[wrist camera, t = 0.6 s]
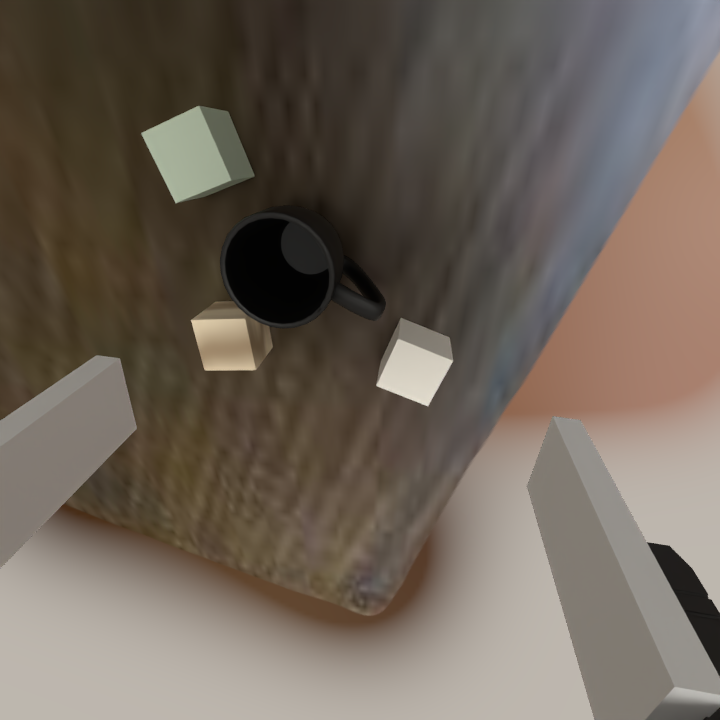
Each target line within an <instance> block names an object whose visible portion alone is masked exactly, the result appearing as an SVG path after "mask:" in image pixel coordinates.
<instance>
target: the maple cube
mask: <svg viewBox="0 0 720 720" xmlns="http://www.w3.org/2000/svg"><path fill="white" fill-rule="evenodd" d="M191 322H192V325H193V329H194V333H195V336H196V340H197V344H198V347H199V351H200V355H201V358H202V362H203V366H204V369H205V370H256V369H257V368H258V367H259V365H260V364H261V363H262V361H263V360H264V359H265V357H266V356H267V355H268V353H269V352H270V351H271V349H272V348H273V345H272V339H271V334H270V328H269V326H267V325H264V324H262V323H259V322H257V321H255V320H254V319H252V318H250V317H249V316H247V315H246V314H245V313H244V312H243V311H242V310H241V309H239V308H238V307H237V305H236V304H235V303H234V301H220V302H214V303H213V304H212V305H210V306H209V307H208V308H206V309H205V310H204V311H202V312H201V313H200V314H198V315H197V316H196V317H194V318H193V319H192V320H191Z"/></svg>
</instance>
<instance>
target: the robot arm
mask: <svg viewBox="0 0 720 720" xmlns="http://www.w3.org/2000/svg"><path fill="white" fill-rule="evenodd" d="M136 429H137V427H136V423H135V419H134V415H133V411H132V407H131V403H130V399H129V395H128V390H127V386H126V382H125V378H124V374H123V370H122V366H121V362H120V358H113V357H105V356H98V355H96V356H95V357H94V358H92V359H91V360H89V361H88V362H86V363H85V364H83V365H82V366H80V367H79V368H77V369H76V370H74V371H73V372H71V373H70V374H69V375H67V376H66V377H64V378H63V379H61V380H60V381H58V382H57V383H55V384H54V385H52V386H51V387H49V388H48V389H46V390H45V391H44V392H42V393H41V394H39V395H38V396H36V397H35V398H33V399H32V400H30V401H29V402H27V403H26V404H24V405H23V406H21V407H20V408H18V409H17V410H16V411H14V412H13V413H11V414H10V415H8V416H7V417H5V418H4V419H2V420H1V421H0V568H1V567H2V566H3V565H4V564H5V563H6V562H7V561H8V560H9V559H10V558H11V557H12V556H13V555H14V554H15V553H16V552H17V551H18V550H19V549H20V548H21V547H22V546H23V545H24V544H25V542H27V541H28V540H29V539H30V538H31V537H32V535H33V534H34V533H35V532H36V531H37V530H38V529H39V528H40V527H41V526H42V525H43V524H44V523H45V522H46V521H47V520H48V519H49V518H50V517H51V516H52V515H53V514H54V513H55V512H56V511H57V510H58V509H59V508H60V507H61V505H63V504H64V503H65V502H66V501H67V500H68V499H69V497H70V496H71V495H72V494H73V493H74V492H75V491H76V490H77V489H78V488H79V487H80V486H81V485H82V484H83V483H84V482H85V481H86V480H87V479H88V478H89V477H90V476H91V475H92V474H93V473H94V472H95V471H96V470H97V469H98V468H99V467H100V466H101V465H102V464H103V463H104V462H105V460H106V459H107V458H108V457H109V456H110V455H111V454H112V453H113V452H114V451H115V450H116V449H117V448H118V447H119V446H120V445H121V444H122V443H123V442H124V441H125V440H126V439H127V438H128V437H129V436H130V435H131V434H132V433H133V432H134V431H135V430H136ZM527 488H528V491H529V495H530V498H531V501H532V505H533V509H534V512H535V515H536V519H537V523H538V526H539V529H540V533H541V536H542V540H543V543H544V547H545V550H546V554H547V557H548V560H549V564H550V567H551V571H552V574H553V578H554V581H555V585H556V588H557V592H558V595H559V599H560V602H561V605H562V609H563V612H564V616H565V619H566V623H567V626H568V629H569V633H570V637H571V639H572V643H573V647H574V650H575V654H576V657H577V661H578V664H579V668H580V671H581V675H582V678H583V681H584V685H585V688H586V692H587V695H588V699H589V702H590V706H591V709H592V713H593V716H594V719H595V720H720V613H719V612H718V610H717V608H716V607H715V605H714V603H713V602H712V600H710V599H708V594H707V592H706V590H705V589H704V587H703V585H702V584H701V582H700V581H699V579H698V577H697V576H696V574H695V572H694V571H693V569H692V568H691V567H690V566H689V565H688V564H687V563H686V562H685V561H684V560H683V559H682V558H681V557H680V556H679V555H678V554H677V553H676V552H675V551H674V550H673V549H672V548H671V547H670V546H667V545H661V544H654V543H648V542H646V540H645V538H644V536H643V535H642V533H641V531H640V529H639V527H638V525H637V523H636V522H635V520H634V518H633V516H632V514H631V512H630V511H629V509H628V507H627V505H626V503H625V501H624V499H623V498H622V496H621V494H620V492H619V490H618V488H617V487H616V485H615V483H614V481H613V479H612V477H611V475H610V474H609V472H608V470H607V468H606V466H605V464H604V463H603V461H602V459H601V457H600V455H599V453H598V452H597V450H596V448H595V446H594V444H593V442H592V440H591V439H590V437H589V435H588V433H587V431H586V429H585V427H584V426H583V424H582V422H581V420H576V419H569V418H561V417H554V416H553V417H552V420H551V423H550V425H549V428H548V431H547V433H546V436H545V439H544V441H543V444H542V447H541V450H540V452H539V455H538V458H537V461H536V464H535V466H534V469H533V471H532V474H531V477H530V480H529V482H528V485H527Z"/></svg>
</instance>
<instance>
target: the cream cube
mask: <svg viewBox="0 0 720 720" xmlns="http://www.w3.org/2000/svg"><path fill="white" fill-rule="evenodd" d="M452 362H453V357H452V350H451V343H450V337H447V336H445V335H442V334H440V333H437V332H435V331H432V330H430V329H428V328H425V327H423V326H420V325H418V324H415V323H413V322H410V321H408V320H405V319H403V318H400V320H399V323H398V325H397V327H396V329H395V331H394V333H393V336H392V338H391V340H390V342H389V344H388V347H387V349H386V351H385V353H384V355H383V357H382V360H381V363H380V368H379V373H378V379H377V384H376V386H378V387H380V388H383V389H385V390H388V391H391V392H393V393H396V394H398V395H401V396H403V397H406V398H408V399H411V400H413V401H416V402H418V403H421V404H423V405H426V406H428V405H429V403H430V401H431V400H432V398H433V396H434V394H435V393H436V391H437V389H438V387H439V385H440V384H441V382H442V380H443V378H444V376H445V375H446V373H447V371H448V369H449V367H450V366H451V364H452Z"/></svg>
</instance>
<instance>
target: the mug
mask: <svg viewBox="0 0 720 720" xmlns="http://www.w3.org/2000/svg"><path fill="white" fill-rule="evenodd" d="M220 267H221V275H222V279H223V283H224V286H225V288H226V290H227V292H228V294H229V296H230V297H231V299H232V300H233V301H234V303H235V304H236V305H237V307H238V308H239V309H241V310H242V311H243V312H244V313H245V314H246V315H247V316H249V317H250V318H252V319H254V320H255V321H257V322H259V323H262V324H264V325H267V326H270V327H276V328H295V327H298V326H301V325H305V324H307V323H309V322H311V321H312V320H314V319H316V318H317V317H318V316H319V315H320V314H321V313H322V312H323V311H324V310H325V309H326V307H327V305H328V304H329V302H330V300H332V301H334V302H336V303H337V304H339V305H341V306H342V307H344V308H346V309H348V310H350V311H351V312H353V313H355V314H357V315H359V316H361V317H364V318H366V319H369V320H373V321H377V320H378V319H379V318H380V317H381V315H382V314H383V311H384V309H385V305H386V302H385V299H384V297H383V295H382V294H381V293H380V291H379V290H378V289H377V287H376V286H375V285H374V283H373V282H372V281H371V280H370V278H369V277H368V276H367V275H366V274H365V272H364V271H363V270H362V269H361V268H360V267H359V266H358V265H357V264H356V263H355V262H354V261H353V260H351V259H350V258H348V257H347V256H345V255H343V249H342V244H341V241H340V239H339V236H338V234H337V232H336V231H335V229H334V227H333V226H332V225H331V224H330V223H329V222H328V221H327V220H326V219H325V218H324V217H322V216H321V215H319V214H318V213H316V212H314V211H312V210H309V209H306V208H303V207H297V206H277V207H271V208H268V209H265V210H263V211H260V212H258V213H255V214H253V215H250V216H248V217H245V218H244V219H243V220H241V221H240V222H239V223H237V224H236V225H235V226H234V227H233V228H232V230H231V231H230V232H229V234H228V235H227V237H226V239H225V242H224V244H223V246H222V251H221V257H220ZM342 273H343V274H344V275H345V276H347V277H348V278H349V279H350V280H351V281H352V282H353V283H354V284H355V286H356V287H357V288H358V289H359V291H360V292H361V293H362V295H363V296H364V297H363V296H361V295H360V294H358V293H356V292H354V291H352V290H351V289H349V288H347V287H346V286H344V285H342V284H341V283H340V280H341V277H342Z"/></svg>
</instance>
